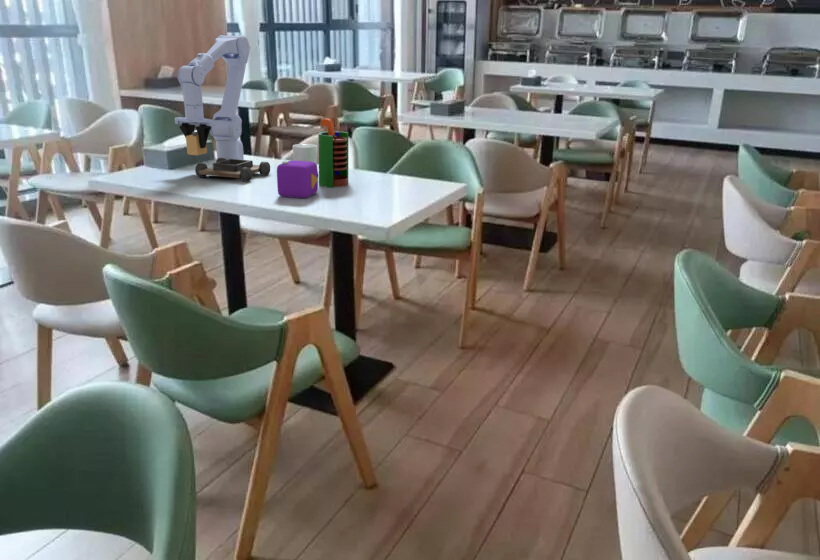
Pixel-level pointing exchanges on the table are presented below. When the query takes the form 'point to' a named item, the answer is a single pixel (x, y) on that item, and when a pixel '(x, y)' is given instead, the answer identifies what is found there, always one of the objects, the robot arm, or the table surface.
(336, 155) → the motor
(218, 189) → the table surface
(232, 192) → the table surface
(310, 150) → the white cup
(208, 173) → the chassis
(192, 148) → the tan block with knob
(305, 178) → the purple arrow cube
